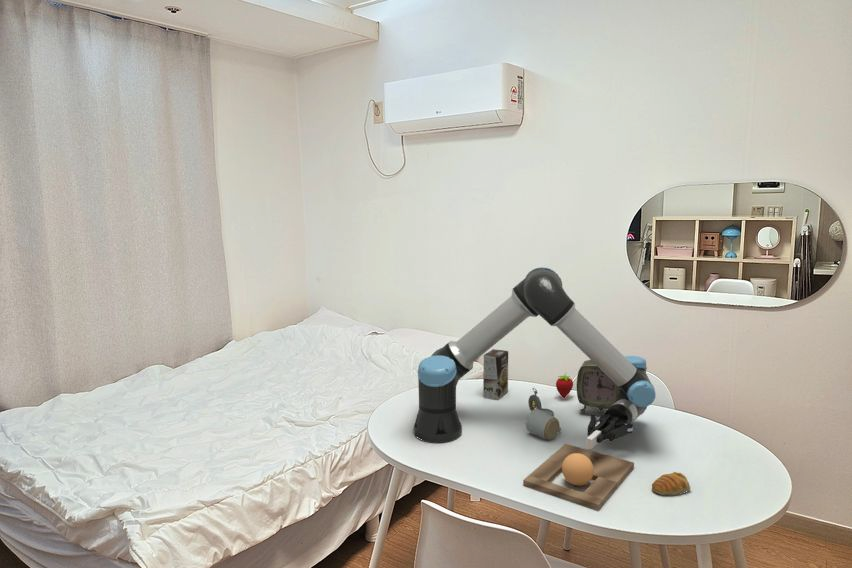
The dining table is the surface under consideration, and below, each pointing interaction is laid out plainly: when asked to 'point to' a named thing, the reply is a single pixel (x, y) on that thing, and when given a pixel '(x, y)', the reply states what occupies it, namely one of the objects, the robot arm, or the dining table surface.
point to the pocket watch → (537, 404)
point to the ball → (577, 469)
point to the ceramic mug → (542, 424)
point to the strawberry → (564, 385)
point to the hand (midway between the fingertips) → (589, 443)
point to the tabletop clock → (595, 387)
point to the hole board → (605, 479)
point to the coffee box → (495, 374)
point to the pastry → (671, 484)
